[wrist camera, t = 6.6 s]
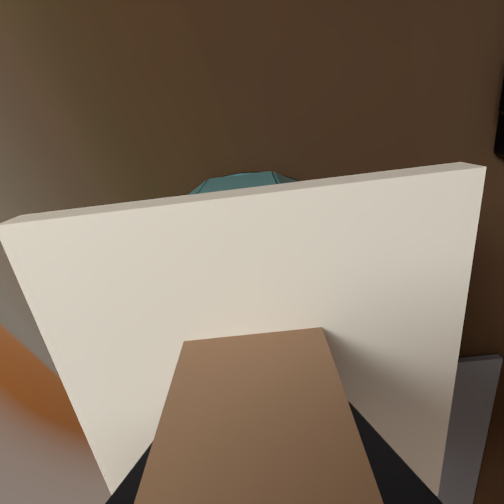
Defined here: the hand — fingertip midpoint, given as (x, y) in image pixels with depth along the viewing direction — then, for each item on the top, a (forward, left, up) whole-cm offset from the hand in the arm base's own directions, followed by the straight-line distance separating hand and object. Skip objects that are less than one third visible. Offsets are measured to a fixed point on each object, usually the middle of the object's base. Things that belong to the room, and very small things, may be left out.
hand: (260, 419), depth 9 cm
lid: (0, 0, -2) cm, 2 cm away
